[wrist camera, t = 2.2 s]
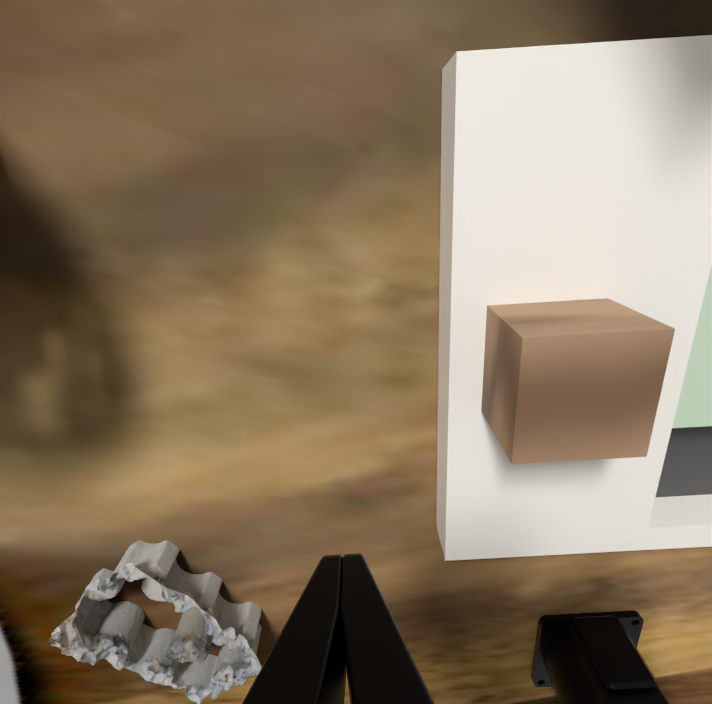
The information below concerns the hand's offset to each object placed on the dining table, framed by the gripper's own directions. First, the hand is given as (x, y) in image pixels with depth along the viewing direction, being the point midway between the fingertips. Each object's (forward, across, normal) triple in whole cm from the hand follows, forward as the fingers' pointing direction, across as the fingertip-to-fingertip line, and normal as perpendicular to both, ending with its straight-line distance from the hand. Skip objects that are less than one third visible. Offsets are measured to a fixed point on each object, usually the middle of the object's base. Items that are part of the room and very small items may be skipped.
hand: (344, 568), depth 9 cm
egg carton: (+14, +12, +16) cm, 24 cm away
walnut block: (+10, -8, 0) cm, 14 cm away
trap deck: (+13, -14, 0) cm, 19 cm away
